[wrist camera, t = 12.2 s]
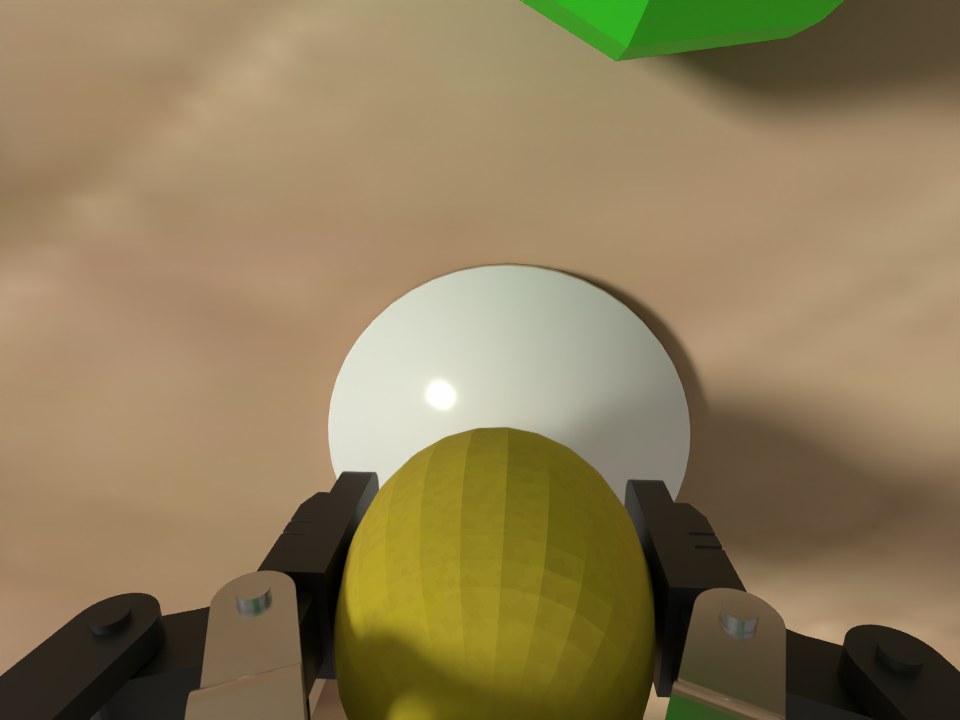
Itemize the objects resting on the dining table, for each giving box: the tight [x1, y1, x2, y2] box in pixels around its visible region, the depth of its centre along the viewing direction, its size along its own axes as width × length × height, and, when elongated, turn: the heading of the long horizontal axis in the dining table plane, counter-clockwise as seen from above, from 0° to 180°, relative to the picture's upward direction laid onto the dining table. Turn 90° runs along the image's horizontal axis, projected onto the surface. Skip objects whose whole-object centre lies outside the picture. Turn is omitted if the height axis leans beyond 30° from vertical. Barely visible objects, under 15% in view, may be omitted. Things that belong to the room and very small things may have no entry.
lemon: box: [334, 427, 656, 720], centre depth 11 cm, size 6×6×8 cm
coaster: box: [328, 263, 690, 506], centre depth 16 cm, size 10×10×1 cm
